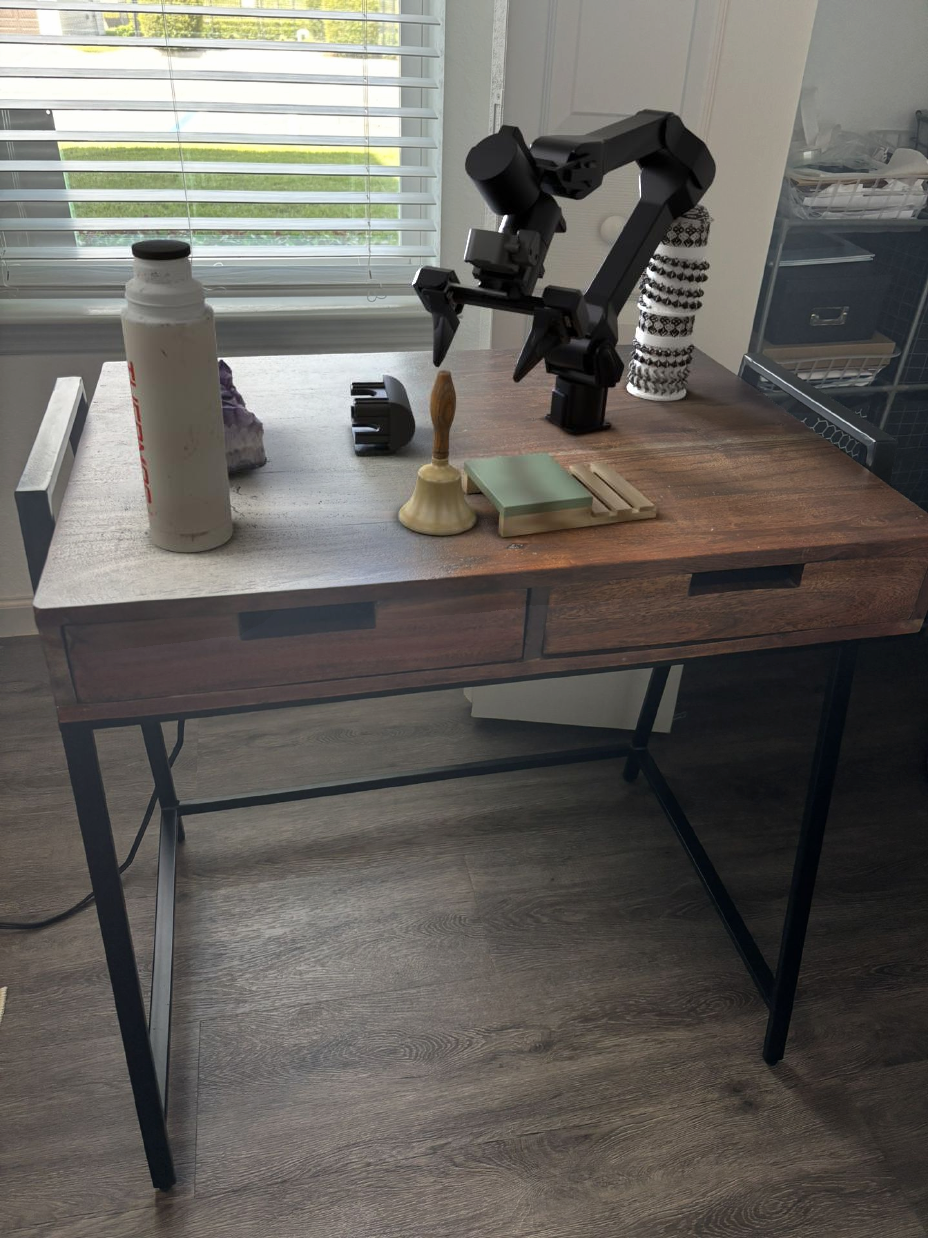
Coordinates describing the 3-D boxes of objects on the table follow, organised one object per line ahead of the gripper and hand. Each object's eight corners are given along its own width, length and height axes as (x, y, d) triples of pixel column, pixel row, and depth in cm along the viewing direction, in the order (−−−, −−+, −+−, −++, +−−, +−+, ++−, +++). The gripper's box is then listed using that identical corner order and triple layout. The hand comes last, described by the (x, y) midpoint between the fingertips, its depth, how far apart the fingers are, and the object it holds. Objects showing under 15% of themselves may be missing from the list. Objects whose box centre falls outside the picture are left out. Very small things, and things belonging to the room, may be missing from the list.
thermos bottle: (144, 553, 97) (101, 252, 82) (158, 515, 103) (121, 231, 89) (228, 552, 98) (200, 254, 83) (237, 516, 104) (213, 234, 89)
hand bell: (486, 509, 108) (495, 364, 100) (461, 542, 102) (468, 390, 93) (415, 495, 110) (418, 352, 102) (386, 527, 104) (386, 377, 95)
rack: (606, 472, 118) (609, 445, 116) (656, 517, 108) (660, 487, 107) (462, 489, 112) (464, 460, 110) (502, 537, 103) (504, 506, 101)
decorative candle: (610, 386, 144) (633, 200, 130) (655, 375, 149) (682, 196, 135) (656, 406, 138) (685, 213, 124) (701, 394, 143) (734, 208, 129)
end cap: (415, 456, 119) (416, 402, 116) (355, 457, 118) (354, 403, 115) (406, 425, 128) (407, 373, 124) (350, 426, 127) (350, 374, 123)
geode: (148, 426, 124) (149, 345, 119) (243, 430, 128) (247, 352, 123) (161, 488, 107) (163, 397, 103) (269, 490, 112) (275, 403, 107)
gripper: (421, 184, 103) (369, 317, 101) (592, 206, 97) (542, 348, 94) (452, 249, 114) (405, 371, 111) (608, 272, 107) (563, 402, 105)
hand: (474, 372), depth 105 cm, fingers open, 9 cm apart
